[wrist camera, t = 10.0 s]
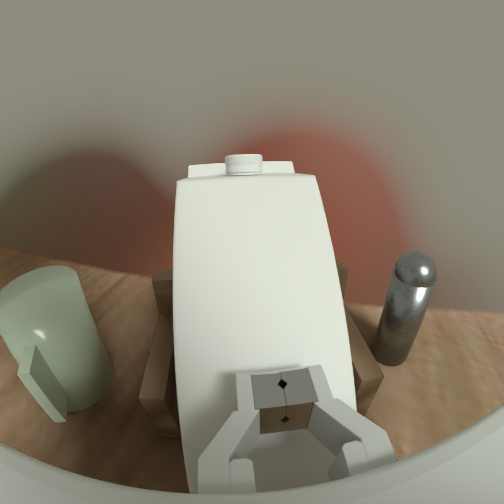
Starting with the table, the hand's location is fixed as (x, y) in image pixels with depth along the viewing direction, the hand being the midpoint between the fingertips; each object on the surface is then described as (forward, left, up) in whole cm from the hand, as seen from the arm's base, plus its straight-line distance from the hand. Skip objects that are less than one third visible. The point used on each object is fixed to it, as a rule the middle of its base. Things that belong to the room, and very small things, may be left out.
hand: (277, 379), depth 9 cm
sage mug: (-16, +6, -10) cm, 19 cm away
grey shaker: (+12, +8, -10) cm, 17 cm away
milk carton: (0, -1, -7) cm, 7 cm away
